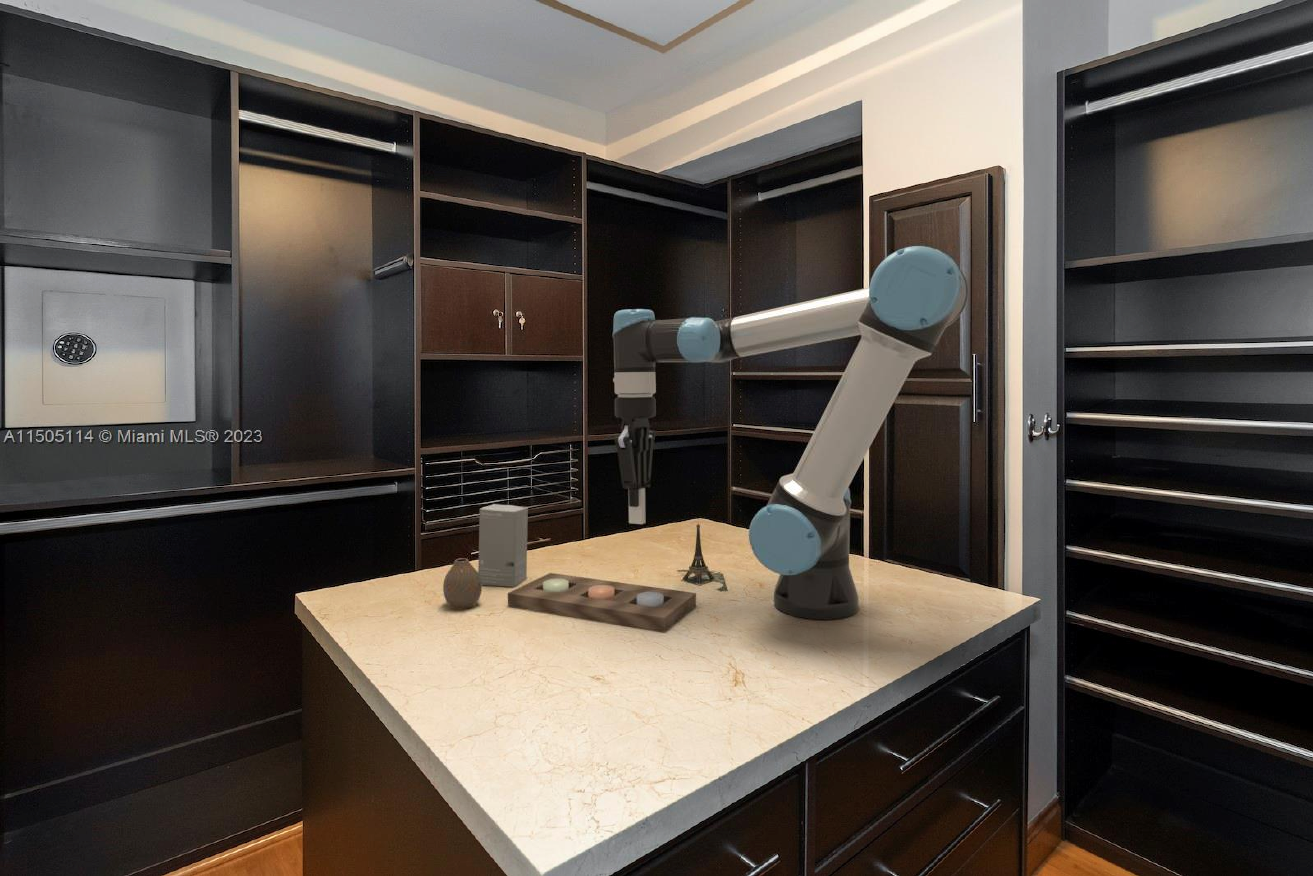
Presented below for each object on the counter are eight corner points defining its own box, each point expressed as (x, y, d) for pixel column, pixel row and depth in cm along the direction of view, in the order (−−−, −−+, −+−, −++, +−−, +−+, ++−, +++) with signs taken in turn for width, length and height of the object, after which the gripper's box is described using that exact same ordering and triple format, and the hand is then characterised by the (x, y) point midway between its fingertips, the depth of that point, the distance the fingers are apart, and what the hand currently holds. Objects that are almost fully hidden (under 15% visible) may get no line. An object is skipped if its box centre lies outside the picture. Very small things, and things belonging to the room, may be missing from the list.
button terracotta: (619, 602, 130) (618, 586, 129) (606, 610, 125) (606, 594, 125) (596, 599, 132) (596, 583, 131) (583, 607, 127) (583, 591, 127)
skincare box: (477, 585, 142) (474, 509, 140) (493, 575, 149) (491, 502, 147) (516, 588, 140) (513, 510, 138) (530, 578, 147) (528, 504, 145)
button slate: (668, 610, 125) (667, 593, 125) (656, 618, 121) (656, 602, 121) (644, 606, 127) (643, 590, 127) (632, 614, 123) (631, 598, 123)
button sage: (573, 595, 134) (573, 580, 134) (559, 603, 130) (559, 587, 129) (552, 592, 136) (552, 577, 136) (538, 599, 132) (538, 584, 131)
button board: (696, 606, 128) (696, 593, 128) (664, 632, 115) (664, 617, 115) (550, 584, 142) (550, 572, 141) (508, 606, 129) (507, 593, 129)
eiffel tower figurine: (729, 594, 136) (729, 527, 135) (677, 595, 136) (676, 528, 135) (722, 572, 151) (721, 511, 150) (675, 572, 151) (674, 512, 150)
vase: (471, 613, 126) (470, 565, 125) (436, 610, 127) (434, 564, 126) (488, 600, 132) (486, 555, 132) (455, 598, 134) (453, 554, 133)
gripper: (631, 394, 134) (634, 514, 136) (599, 397, 122) (602, 528, 125) (667, 394, 131) (669, 517, 133) (638, 397, 119) (640, 532, 122)
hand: (637, 522), depth 129 cm, fingers closed
